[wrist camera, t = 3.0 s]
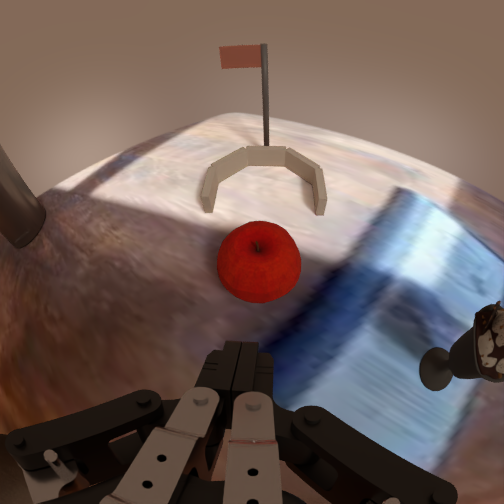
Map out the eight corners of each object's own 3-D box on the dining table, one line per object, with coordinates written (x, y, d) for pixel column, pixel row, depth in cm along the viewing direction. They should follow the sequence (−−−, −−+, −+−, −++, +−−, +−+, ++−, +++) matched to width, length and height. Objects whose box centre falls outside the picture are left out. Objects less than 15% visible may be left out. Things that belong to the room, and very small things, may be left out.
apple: (243, 239, 32) (237, 195, 26) (307, 262, 30) (317, 220, 24) (209, 297, 28) (193, 261, 22) (280, 327, 26) (285, 298, 20)
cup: (323, 215, 33) (349, 80, 18) (205, 212, 34) (172, 81, 19) (314, 154, 40) (325, 46, 25) (219, 153, 41) (203, 47, 26)
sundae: (457, 397, 19) (560, 362, 7) (409, 398, 21) (518, 368, 8) (459, 342, 23) (550, 281, 10) (414, 338, 24) (507, 269, 11)
